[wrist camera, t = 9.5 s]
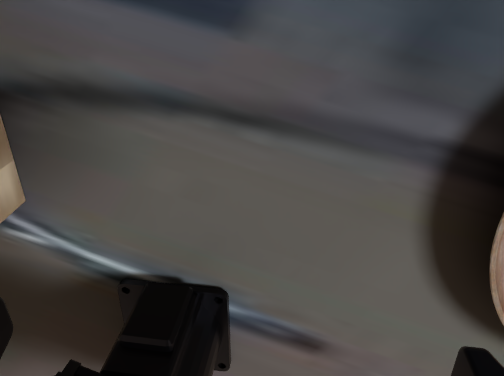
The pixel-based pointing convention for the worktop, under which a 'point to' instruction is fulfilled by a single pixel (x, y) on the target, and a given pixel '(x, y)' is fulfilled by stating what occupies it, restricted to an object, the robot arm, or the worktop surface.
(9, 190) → the socket block
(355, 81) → the worktop surface
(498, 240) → the plant saucer
